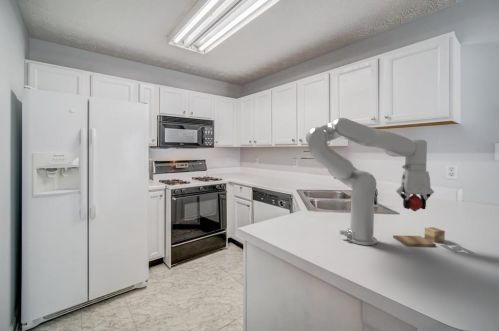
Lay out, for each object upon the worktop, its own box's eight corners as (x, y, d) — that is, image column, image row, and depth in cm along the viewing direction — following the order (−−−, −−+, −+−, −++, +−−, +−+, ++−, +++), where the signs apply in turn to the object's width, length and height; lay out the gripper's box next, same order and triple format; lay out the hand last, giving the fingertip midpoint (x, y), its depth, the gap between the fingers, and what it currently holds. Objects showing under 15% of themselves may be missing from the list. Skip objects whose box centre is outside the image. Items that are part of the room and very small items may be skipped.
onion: (407, 209, 105) (407, 192, 105) (422, 211, 102) (423, 193, 102) (405, 211, 101) (406, 193, 101) (422, 213, 97) (422, 194, 97)
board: (406, 246, 97) (406, 243, 97) (393, 237, 107) (393, 235, 107) (435, 247, 97) (435, 244, 97) (419, 238, 107) (419, 235, 106)
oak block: (434, 242, 101) (434, 231, 101) (424, 238, 106) (424, 227, 106) (444, 241, 102) (444, 230, 102) (434, 237, 107) (434, 227, 107)
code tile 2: (432, 242, 101) (432, 242, 101) (422, 238, 107) (422, 237, 107) (446, 243, 101) (446, 242, 101) (436, 238, 107) (436, 237, 107)
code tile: (454, 253, 90) (454, 253, 90) (439, 245, 98) (439, 245, 98) (476, 254, 90) (476, 253, 90) (459, 246, 98) (459, 245, 98)
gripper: (400, 168, 97) (399, 210, 98) (442, 168, 96) (441, 210, 97) (390, 167, 105) (389, 206, 106) (430, 167, 104) (428, 206, 104)
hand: (414, 208), depth 101 cm, fingers closed on onion, 5 cm apart
